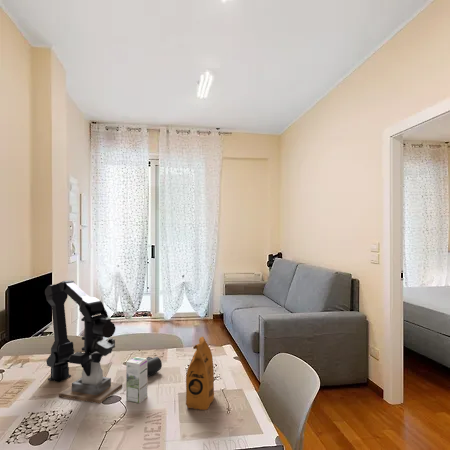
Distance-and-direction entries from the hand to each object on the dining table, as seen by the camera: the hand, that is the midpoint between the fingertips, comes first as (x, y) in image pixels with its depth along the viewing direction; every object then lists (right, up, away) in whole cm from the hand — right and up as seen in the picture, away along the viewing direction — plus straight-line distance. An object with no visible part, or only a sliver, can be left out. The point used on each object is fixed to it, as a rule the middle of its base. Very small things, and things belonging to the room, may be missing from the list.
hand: (91, 373), depth 133 cm
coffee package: (+42, -7, -8) cm, 44 cm away
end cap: (+18, -7, +15) cm, 25 cm away
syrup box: (+19, -7, -6) cm, 21 cm away
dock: (0, -7, 0) cm, 7 cm away
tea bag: (0, -6, 0) cm, 6 cm away
